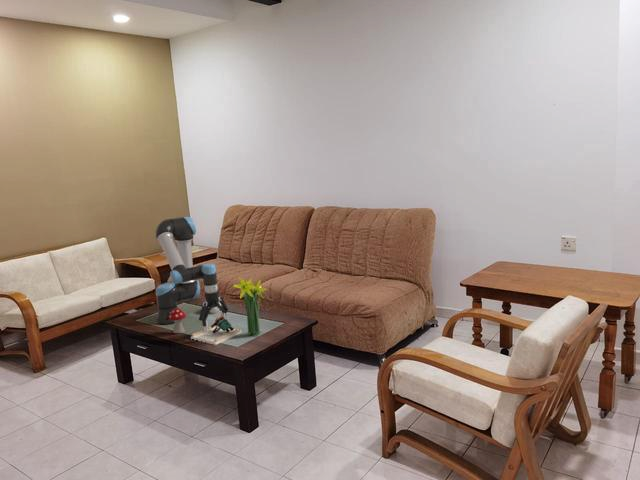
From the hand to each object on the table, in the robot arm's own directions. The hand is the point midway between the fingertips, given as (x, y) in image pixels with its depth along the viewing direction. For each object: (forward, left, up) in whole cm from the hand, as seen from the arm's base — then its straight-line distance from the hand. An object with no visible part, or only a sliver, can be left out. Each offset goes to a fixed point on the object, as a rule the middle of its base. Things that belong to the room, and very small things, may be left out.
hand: (215, 327), depth 288 cm
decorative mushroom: (-25, -6, -5) cm, 26 cm away
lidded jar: (-36, +32, -5) cm, 48 cm away
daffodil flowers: (+19, +12, -5) cm, 23 cm away
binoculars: (0, +1, -4) cm, 4 cm away
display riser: (0, 0, -5) cm, 5 cm away
